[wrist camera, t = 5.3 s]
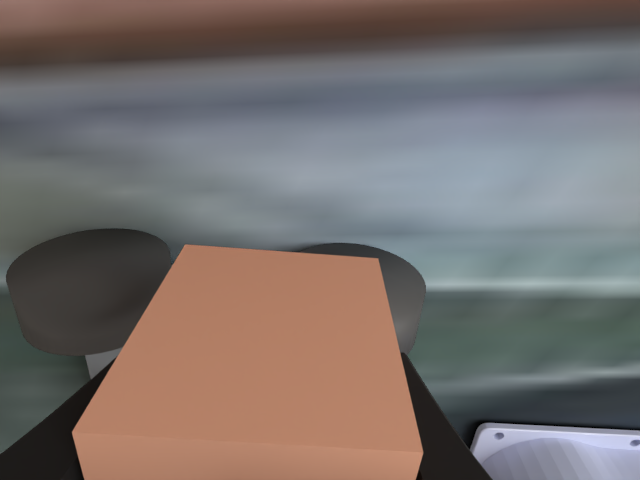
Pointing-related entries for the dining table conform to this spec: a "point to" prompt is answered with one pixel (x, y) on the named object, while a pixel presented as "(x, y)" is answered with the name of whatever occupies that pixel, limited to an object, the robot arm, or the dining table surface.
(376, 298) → the block
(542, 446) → the robot arm
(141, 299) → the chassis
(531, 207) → the dining table surface
